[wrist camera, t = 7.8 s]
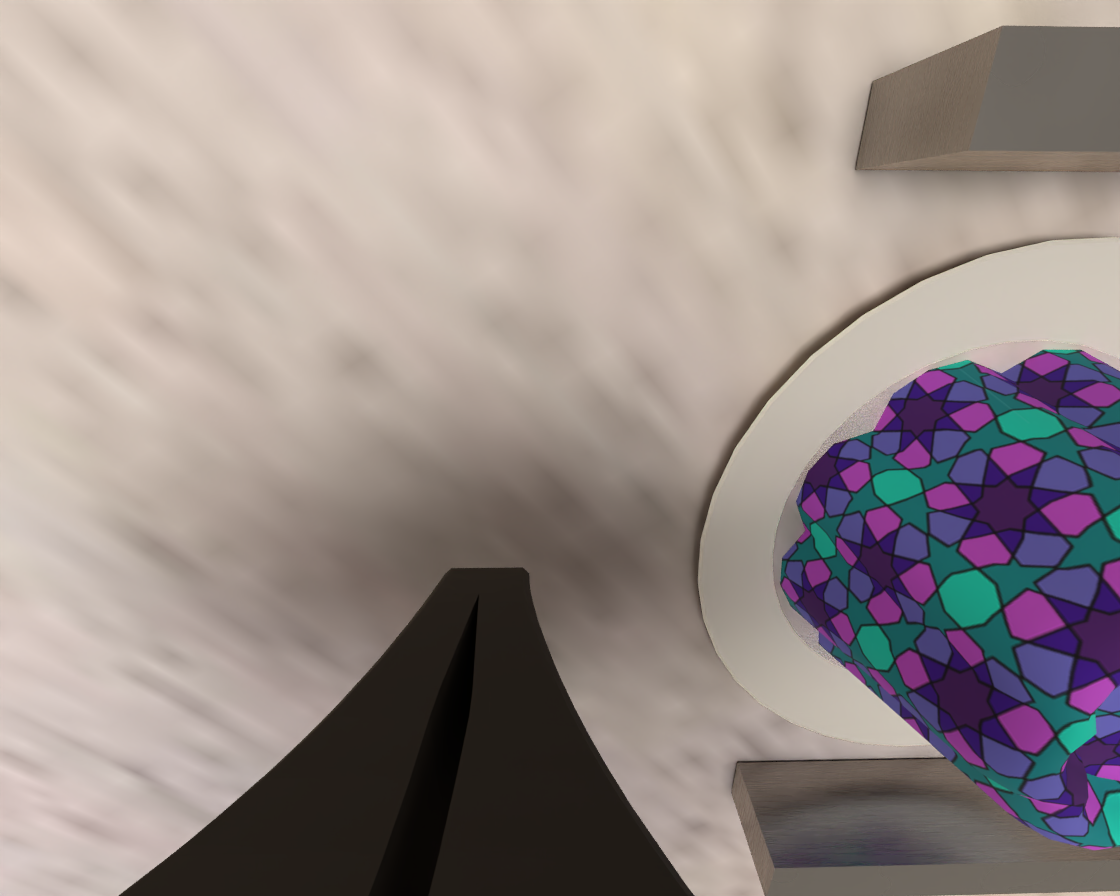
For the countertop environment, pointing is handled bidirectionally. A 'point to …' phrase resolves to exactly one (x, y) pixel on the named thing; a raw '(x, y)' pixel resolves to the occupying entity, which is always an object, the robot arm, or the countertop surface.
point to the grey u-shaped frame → (936, 784)
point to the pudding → (947, 538)
